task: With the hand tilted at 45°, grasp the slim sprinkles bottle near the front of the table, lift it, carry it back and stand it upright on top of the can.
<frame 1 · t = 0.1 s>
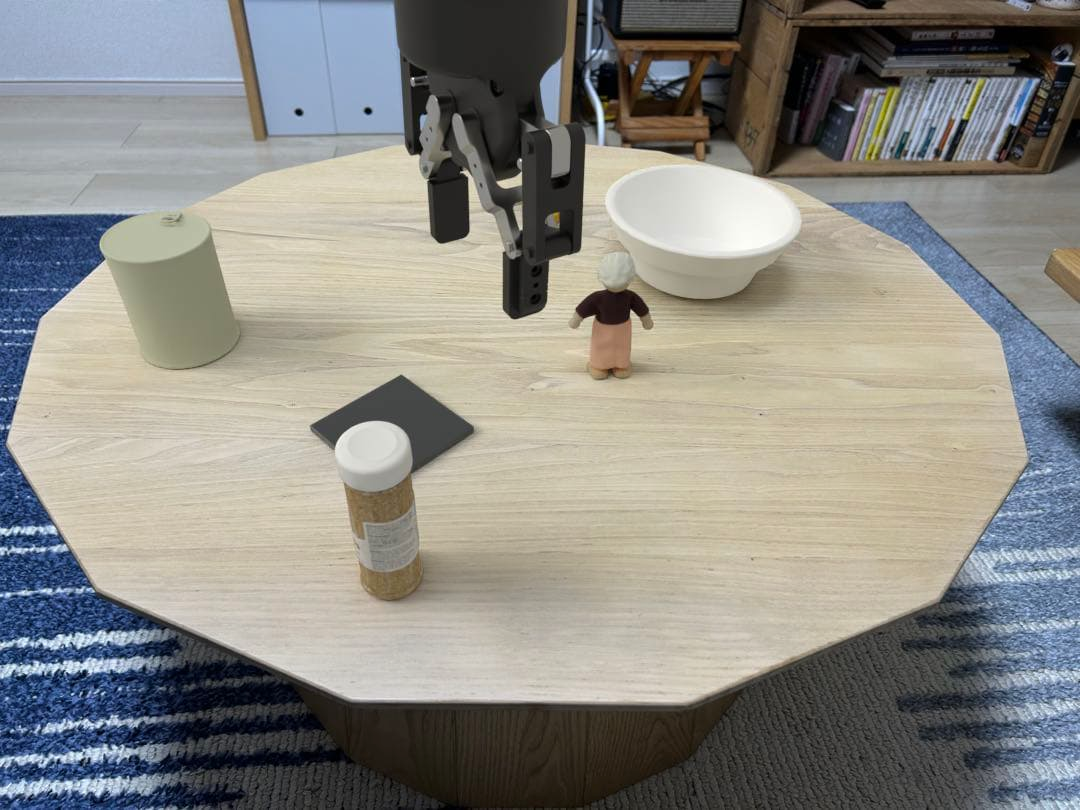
hand: (485, 273, 42), 24 cm above the table, tool pointing down, fingers open, 8 cm apart
grandmother figurine: (604, 371, 74), on the table
yellow walkie talkie: (541, 200, 100), on the table
bowl: (690, 272, 88), on the table
slate coaster: (392, 431, 66), on the table
sprinkles bottle: (393, 577, 55), on the table
can: (191, 341, 75), on the table
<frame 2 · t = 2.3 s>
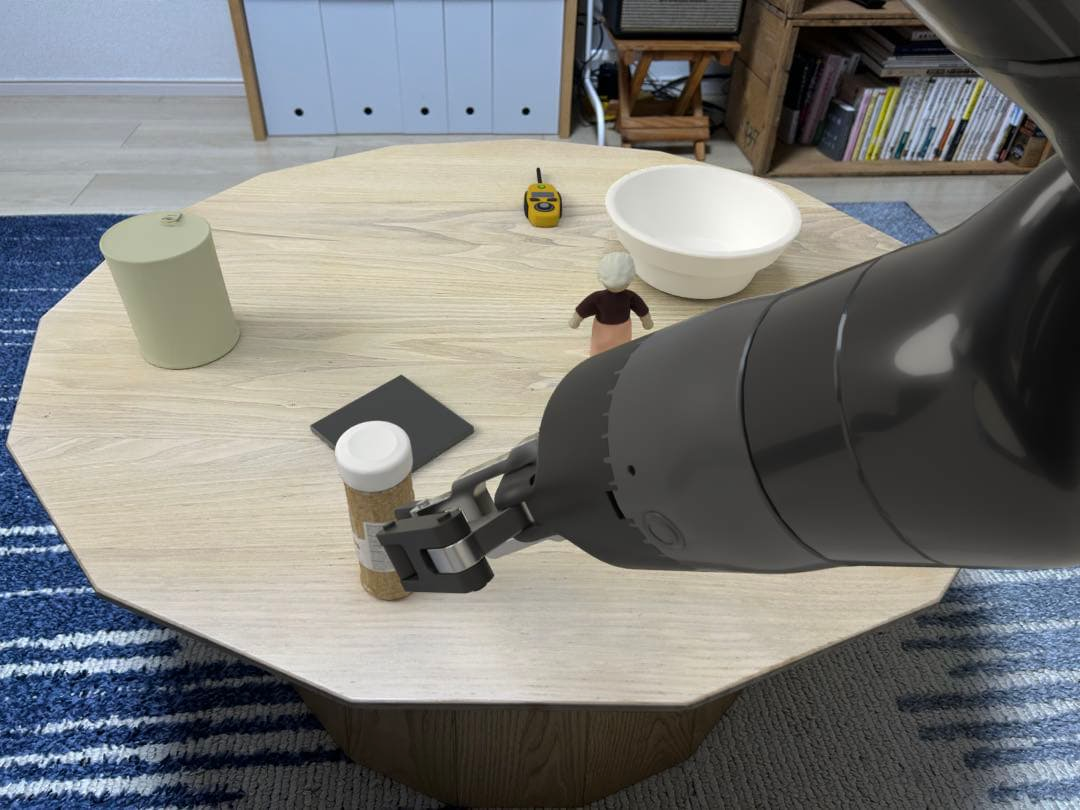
hand: (483, 483, 37), 19 cm above the table, tool tilted 45°, fingers open, 8 cm apart
nothing on the table moved.
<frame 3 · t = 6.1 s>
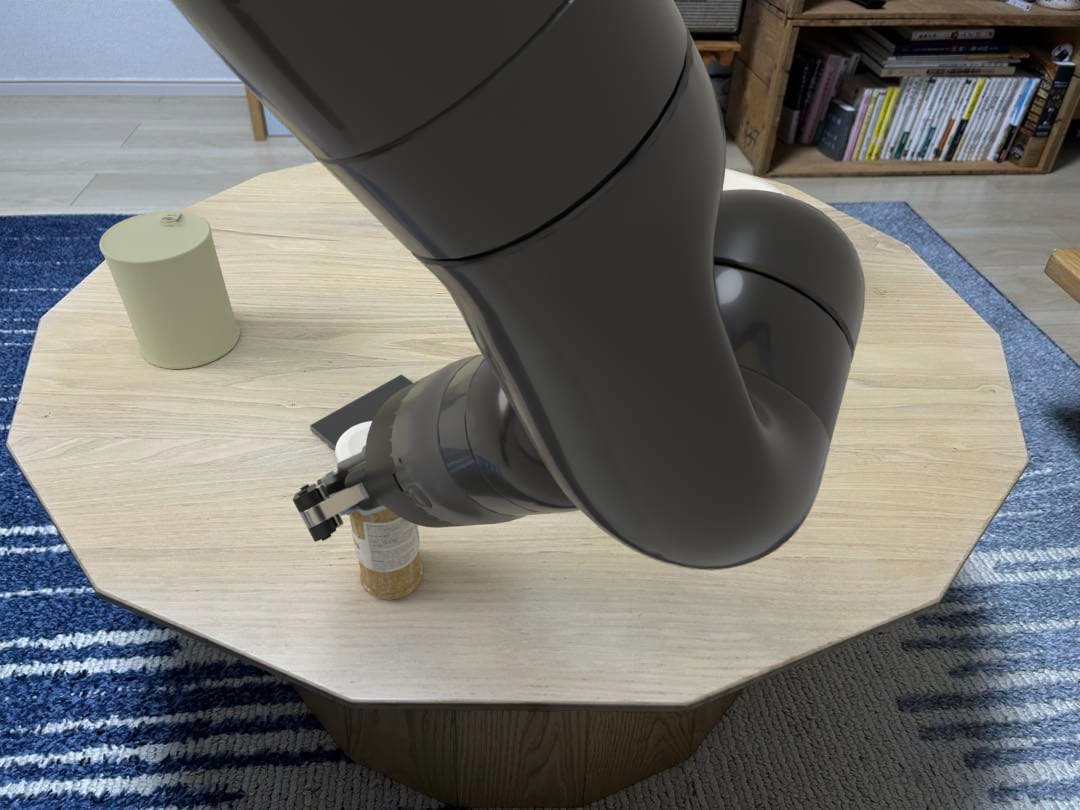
hand: (363, 474, 50), 9 cm above the table, tool tilted 45°, fingers closed on sprinkles bottle, 4 cm apart
sprinkles bottle: (392, 577, 55), on the table, touching gripper
everything else where it was.
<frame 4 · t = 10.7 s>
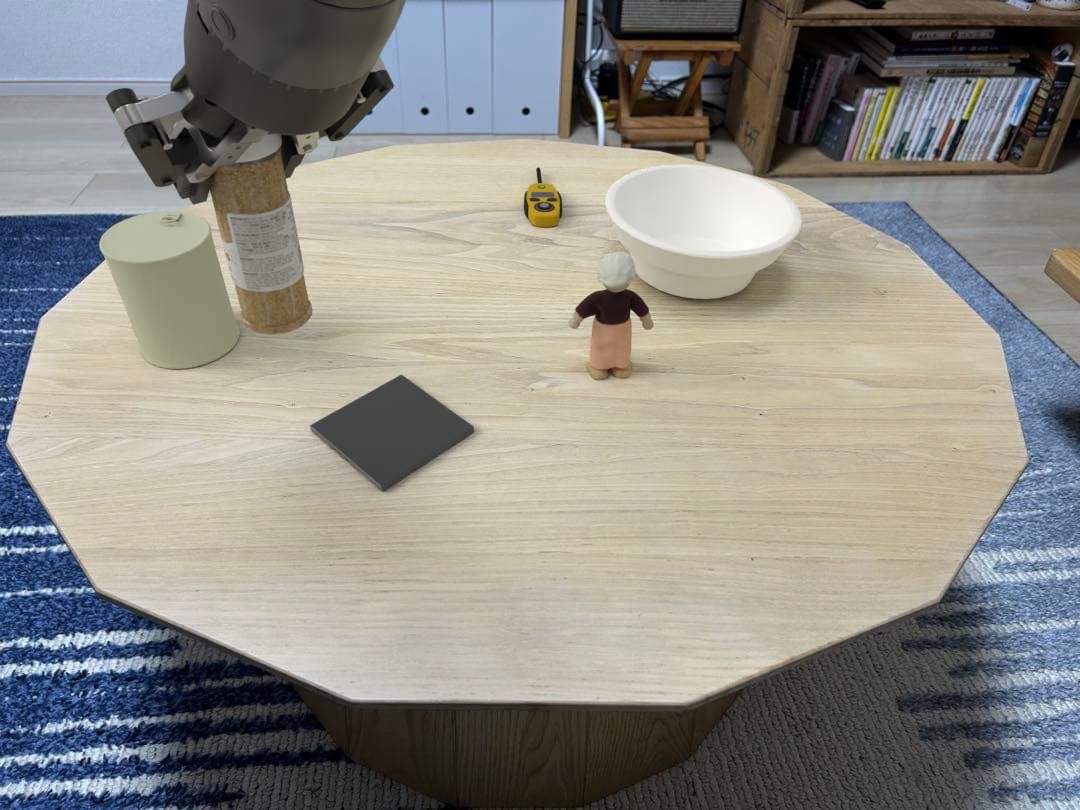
hand: (234, 175, 45), 26 cm above the table, tool tilted 45°, fingers closed on sprinkles bottle, 4 cm apart
sprinkles bottle: (279, 320, 50), point 16 cm above the table, touching gripper
everything else where it was.
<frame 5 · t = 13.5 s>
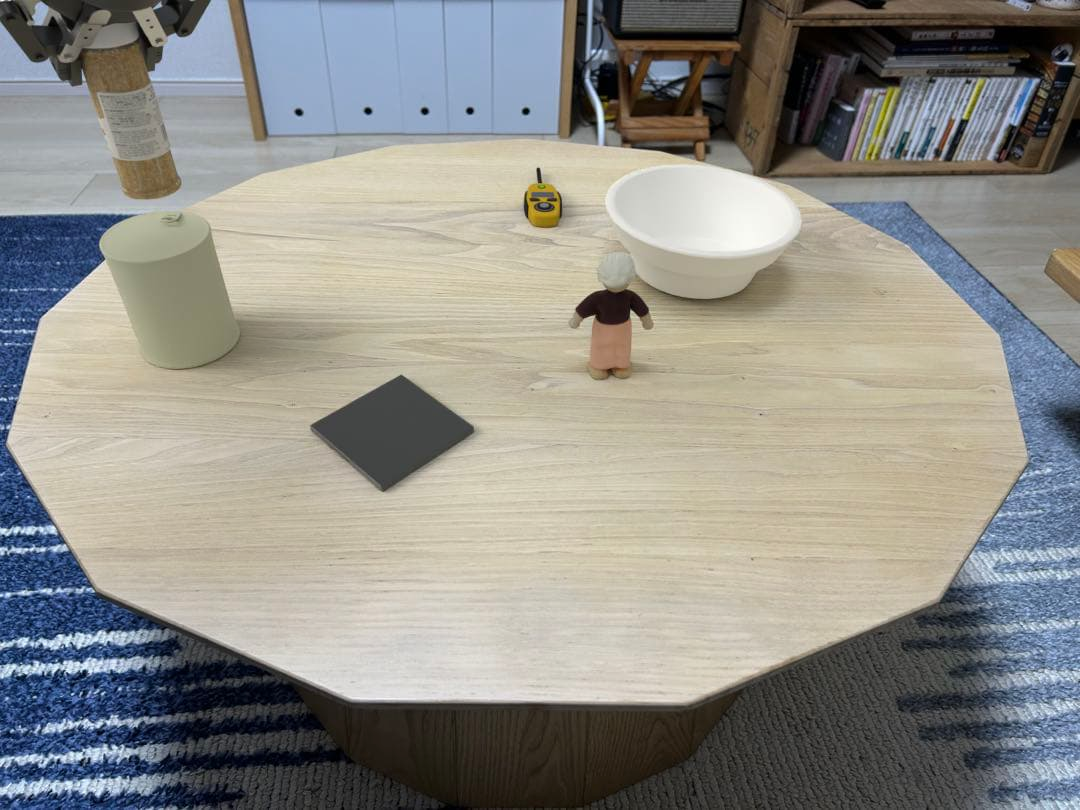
hand: (107, 67, 57), 26 cm above the table, tool tilted 45°, fingers closed on sprinkles bottle, 4 cm apart
sprinkles bottle: (154, 192, 62), point 17 cm above the table, touching gripper
everything else where it was.
when the fingers open (21 cm above the table, at t = 15.6 s): sprinkles bottle stays where it is, resting on can.
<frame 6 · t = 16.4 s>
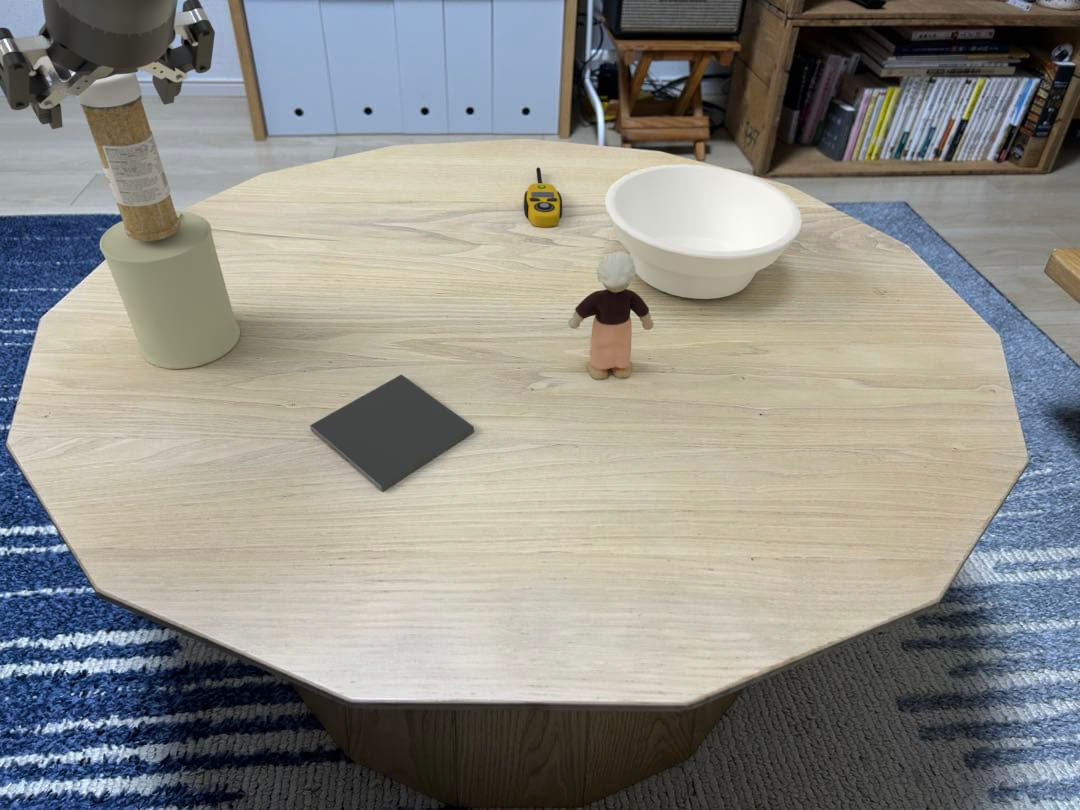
hand: (108, 105, 61), 22 cm above the table, tool tilted 45°, fingers open, 8 cm apart
sprinkles bottle: (155, 232, 67), point 12 cm above the table, touching can
can: (191, 341, 75), on the table, touching sprinkles bottle
everything else where it was.
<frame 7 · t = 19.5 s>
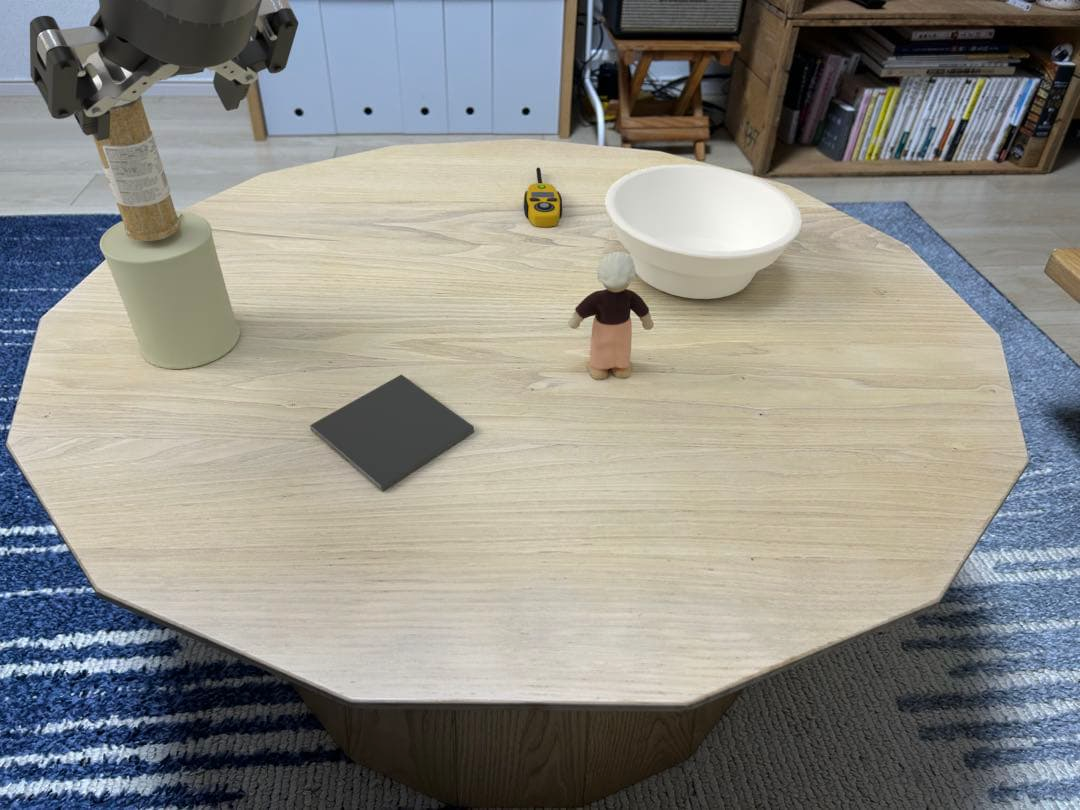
hand: (162, 111, 51), 26 cm above the table, tool tilted 45°, fingers open, 8 cm apart
nothing on the table moved.
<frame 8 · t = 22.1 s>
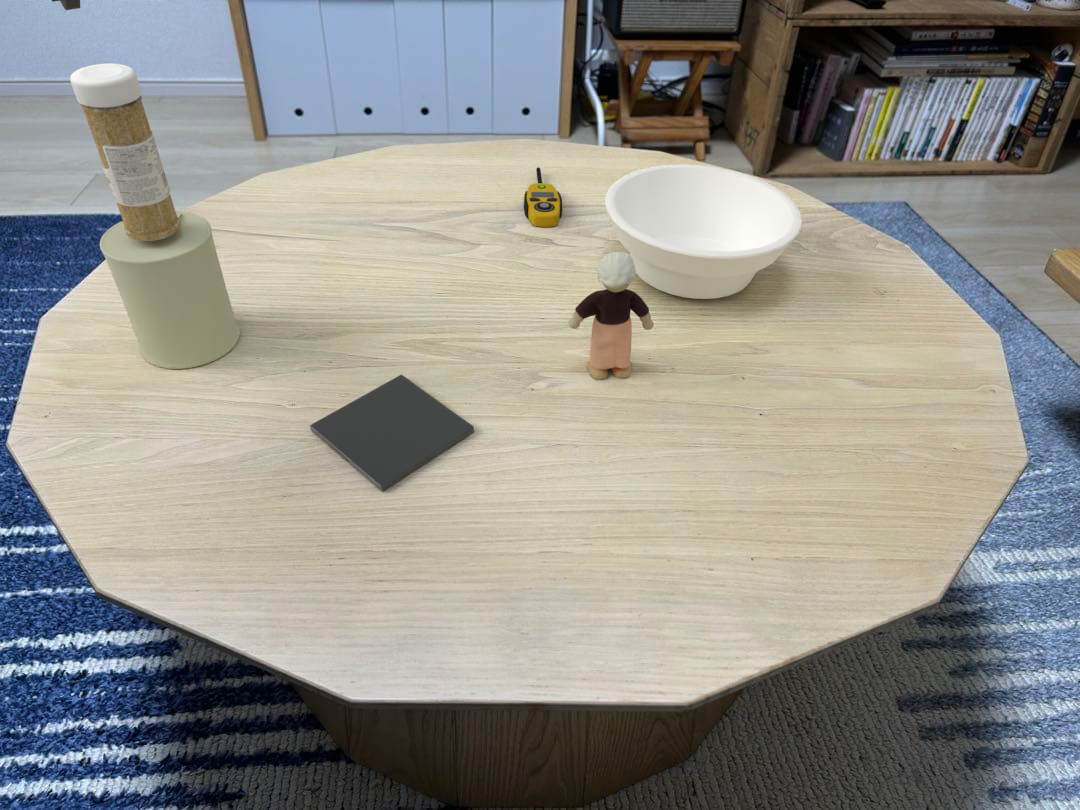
nothing on the table moved.
at the end: sprinkles bottle 0.2 cm off-centre on the can, point 12.0 cm above the can's base; sprinkles bottle tilted 0°; the gripper is holding nothing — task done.
